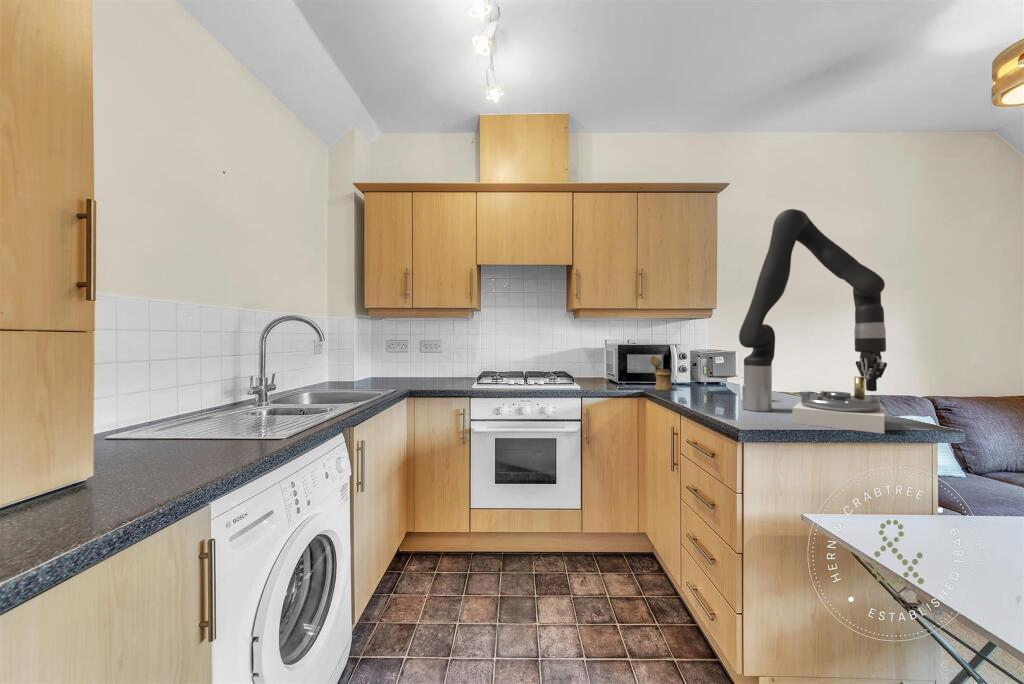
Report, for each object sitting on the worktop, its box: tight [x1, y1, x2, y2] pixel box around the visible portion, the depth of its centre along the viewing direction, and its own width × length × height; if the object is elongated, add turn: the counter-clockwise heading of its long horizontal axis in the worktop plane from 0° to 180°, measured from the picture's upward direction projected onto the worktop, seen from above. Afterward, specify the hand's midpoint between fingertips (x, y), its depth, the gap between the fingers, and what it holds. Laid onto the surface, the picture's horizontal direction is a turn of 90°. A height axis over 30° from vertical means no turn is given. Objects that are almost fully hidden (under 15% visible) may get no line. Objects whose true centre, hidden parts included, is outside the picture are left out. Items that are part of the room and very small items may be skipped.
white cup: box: [738, 376, 744, 401], centre depth 178 cm, size 8×8×10 cm
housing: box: [792, 401, 885, 434], centre depth 131 cm, size 22×22×5 cm
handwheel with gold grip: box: [800, 376, 881, 412], centre depth 131 cm, size 20×20×10 cm
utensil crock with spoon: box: [650, 355, 674, 392], centre depth 217 cm, size 9×14×18 cm, turn 19°
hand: (871, 390), depth 128 cm, fingers closed
